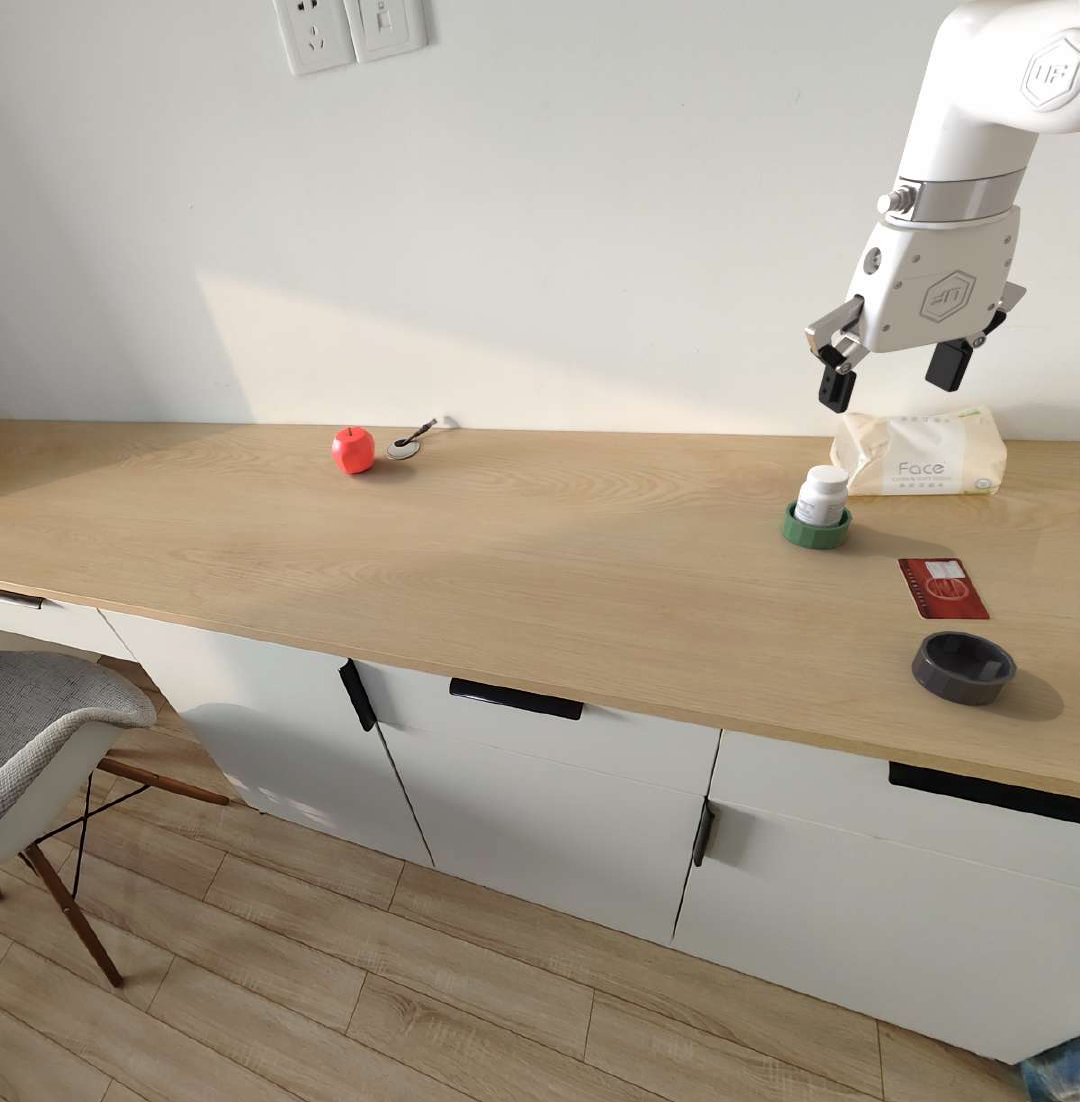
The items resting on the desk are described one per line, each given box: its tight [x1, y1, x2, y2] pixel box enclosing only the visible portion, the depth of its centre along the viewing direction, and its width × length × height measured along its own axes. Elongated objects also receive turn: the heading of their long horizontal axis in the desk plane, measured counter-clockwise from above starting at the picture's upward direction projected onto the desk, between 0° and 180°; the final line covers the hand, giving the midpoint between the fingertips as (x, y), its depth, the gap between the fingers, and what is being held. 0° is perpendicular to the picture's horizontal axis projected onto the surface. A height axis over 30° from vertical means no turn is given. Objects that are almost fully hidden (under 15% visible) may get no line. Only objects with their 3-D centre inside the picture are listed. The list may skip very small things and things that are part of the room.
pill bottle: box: [793, 464, 850, 528], centre depth 80 cm, size 5×5×8 cm
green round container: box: [780, 499, 853, 550], centre depth 82 cm, size 7×7×3 cm
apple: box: [331, 426, 376, 475], centre depth 116 cm, size 8×8×8 cm
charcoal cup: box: [911, 630, 1018, 706], centre depth 63 cm, size 7×7×3 cm
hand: (885, 396), depth 61 cm, fingers open, 9 cm apart
